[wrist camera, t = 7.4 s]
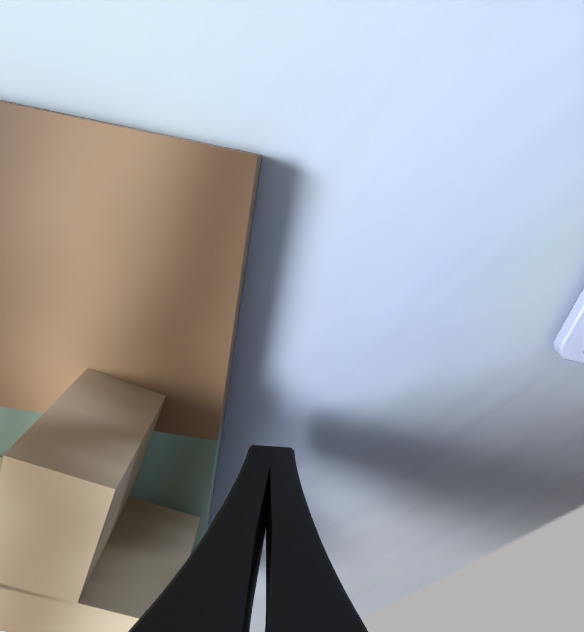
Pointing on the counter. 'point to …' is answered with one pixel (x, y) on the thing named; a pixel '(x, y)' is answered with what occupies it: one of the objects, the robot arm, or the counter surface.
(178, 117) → the counter surface
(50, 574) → the t block
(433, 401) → the counter surface
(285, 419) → the counter surface
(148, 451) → the board
